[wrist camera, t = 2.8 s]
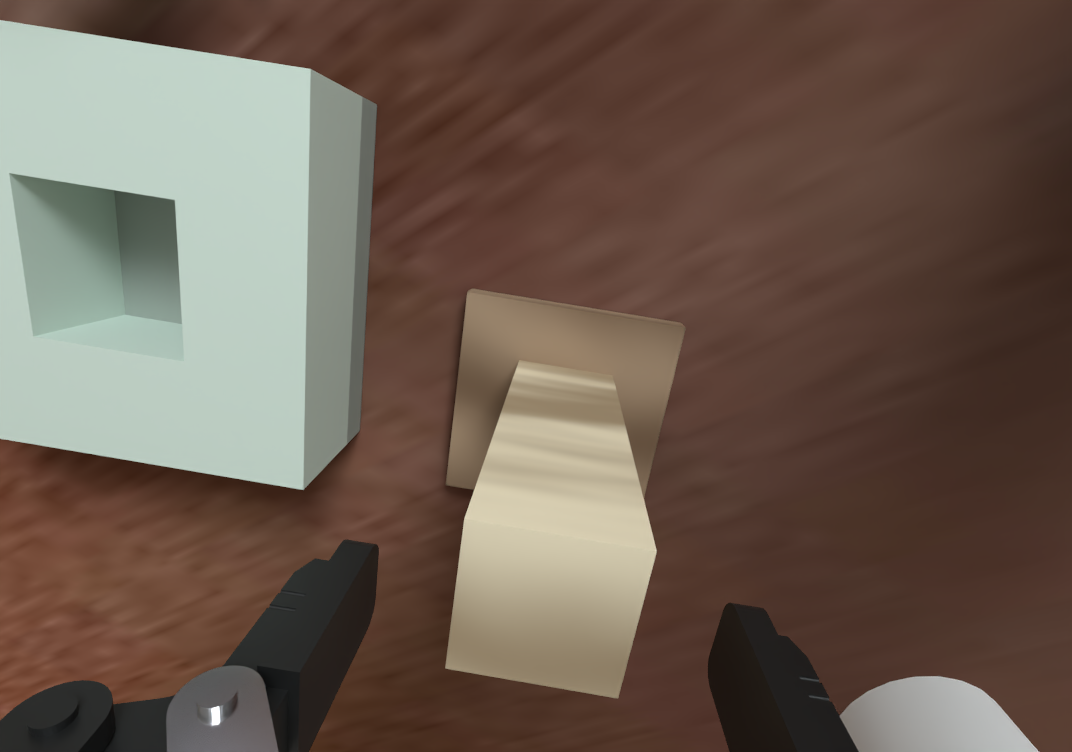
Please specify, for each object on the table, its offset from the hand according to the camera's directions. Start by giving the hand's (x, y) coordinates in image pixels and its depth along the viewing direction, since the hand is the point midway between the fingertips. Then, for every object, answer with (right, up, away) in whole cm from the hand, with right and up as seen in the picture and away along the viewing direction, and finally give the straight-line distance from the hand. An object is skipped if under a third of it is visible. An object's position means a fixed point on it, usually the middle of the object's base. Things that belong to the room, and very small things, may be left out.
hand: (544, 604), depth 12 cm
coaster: (+1, +4, +12) cm, 12 cm away
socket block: (-14, +10, +11) cm, 21 cm away
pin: (+1, +4, +11) cm, 11 cm away
